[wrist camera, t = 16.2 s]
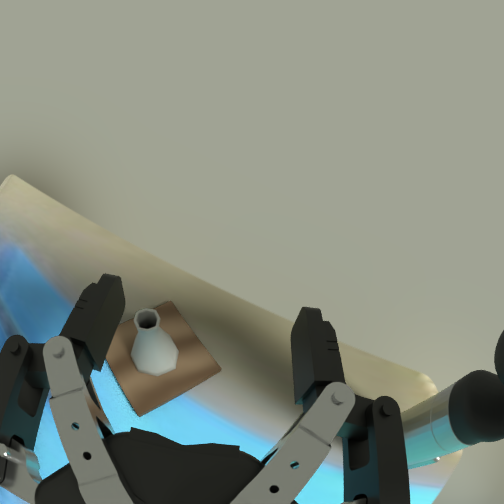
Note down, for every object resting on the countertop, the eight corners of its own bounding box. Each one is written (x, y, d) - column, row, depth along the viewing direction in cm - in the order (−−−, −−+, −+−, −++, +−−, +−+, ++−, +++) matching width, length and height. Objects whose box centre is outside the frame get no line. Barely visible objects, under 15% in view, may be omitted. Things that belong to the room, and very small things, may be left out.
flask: (129, 334, 38) (117, 295, 31) (175, 330, 40) (173, 291, 33) (132, 378, 33) (117, 349, 26) (183, 374, 35) (181, 344, 28)
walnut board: (220, 370, 38) (221, 368, 37) (139, 417, 30) (138, 415, 29) (171, 304, 44) (170, 300, 44) (96, 338, 36) (95, 335, 36)
